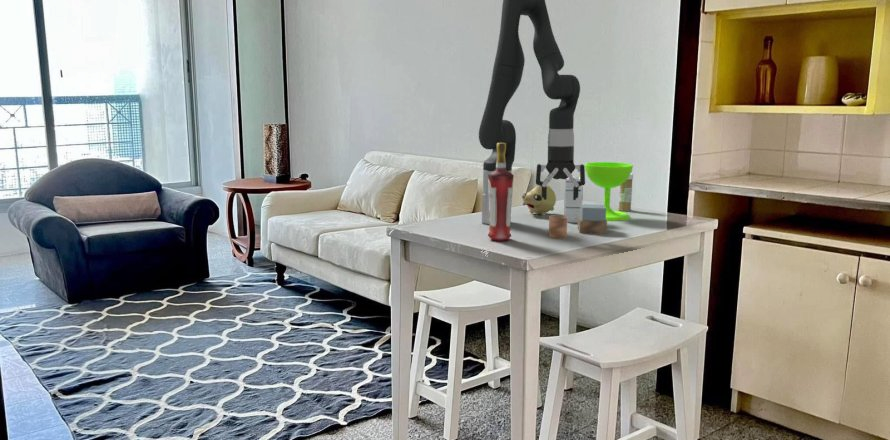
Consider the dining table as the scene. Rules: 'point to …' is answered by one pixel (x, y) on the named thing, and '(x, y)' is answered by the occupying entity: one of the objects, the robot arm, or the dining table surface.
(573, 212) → the syrup box
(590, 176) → the wineglass
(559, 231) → the terracotta cube
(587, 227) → the walnut slab
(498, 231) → the liquor
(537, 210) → the beige round toy
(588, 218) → the slate block
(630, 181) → the sprinkles bottle
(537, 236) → the dining table surface
